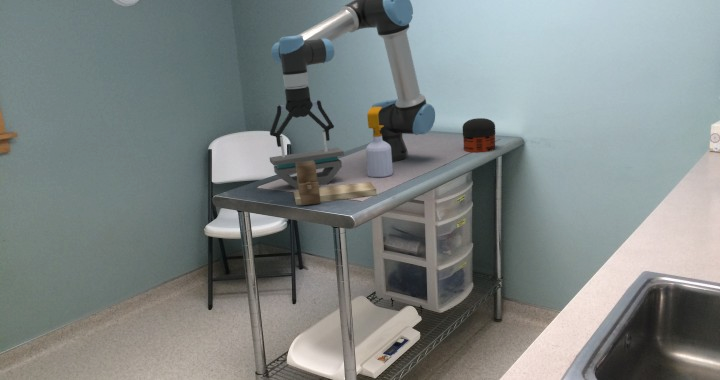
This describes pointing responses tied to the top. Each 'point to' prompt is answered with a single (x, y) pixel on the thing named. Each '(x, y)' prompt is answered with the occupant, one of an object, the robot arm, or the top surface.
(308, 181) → the notched wooden block
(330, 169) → the grey slotted trapezoid block
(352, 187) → the board
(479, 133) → the oil filter
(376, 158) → the soap bottle
